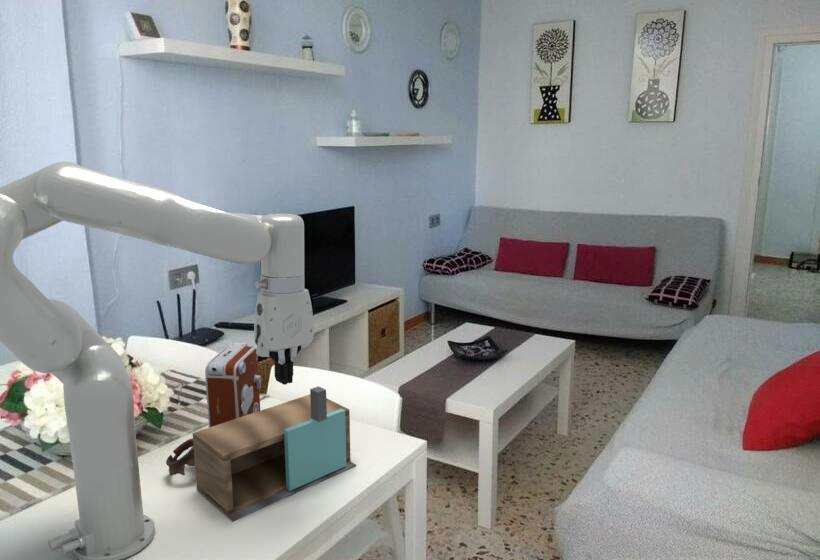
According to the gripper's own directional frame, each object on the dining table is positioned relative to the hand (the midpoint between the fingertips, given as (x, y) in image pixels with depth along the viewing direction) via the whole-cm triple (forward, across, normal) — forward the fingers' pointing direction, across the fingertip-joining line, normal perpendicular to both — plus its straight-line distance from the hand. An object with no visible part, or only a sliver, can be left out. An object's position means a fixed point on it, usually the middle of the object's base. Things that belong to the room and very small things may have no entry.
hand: (284, 381), depth 116 cm
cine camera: (+23, +7, +30) cm, 38 cm away
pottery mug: (+23, -8, +19) cm, 31 cm away
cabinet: (+23, +2, +7) cm, 24 cm away
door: (+22, +7, 0) cm, 23 cm away
